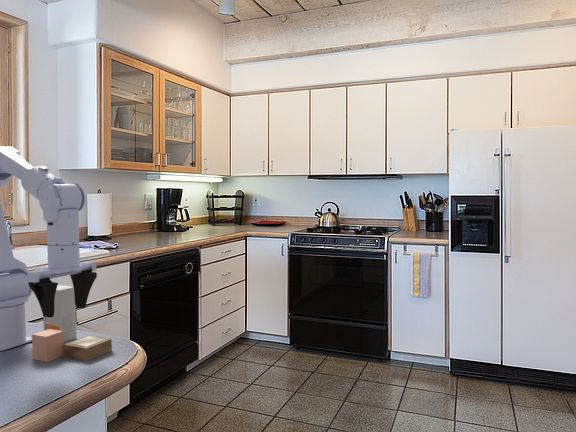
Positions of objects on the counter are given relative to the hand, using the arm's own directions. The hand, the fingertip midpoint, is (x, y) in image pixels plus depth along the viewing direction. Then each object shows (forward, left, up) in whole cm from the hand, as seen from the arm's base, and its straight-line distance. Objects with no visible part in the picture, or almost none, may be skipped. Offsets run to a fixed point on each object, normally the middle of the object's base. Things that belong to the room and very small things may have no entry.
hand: (65, 311), depth 92 cm
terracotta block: (-4, -1, -10) cm, 11 cm away
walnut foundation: (+2, +4, -9) cm, 10 cm away
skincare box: (-12, +8, -10) cm, 17 cm away
